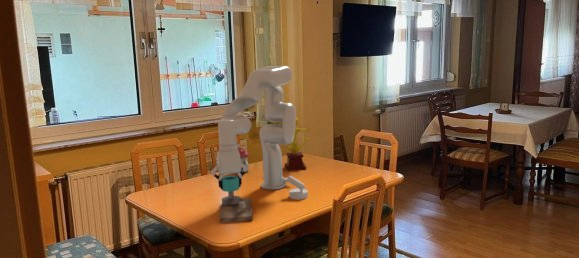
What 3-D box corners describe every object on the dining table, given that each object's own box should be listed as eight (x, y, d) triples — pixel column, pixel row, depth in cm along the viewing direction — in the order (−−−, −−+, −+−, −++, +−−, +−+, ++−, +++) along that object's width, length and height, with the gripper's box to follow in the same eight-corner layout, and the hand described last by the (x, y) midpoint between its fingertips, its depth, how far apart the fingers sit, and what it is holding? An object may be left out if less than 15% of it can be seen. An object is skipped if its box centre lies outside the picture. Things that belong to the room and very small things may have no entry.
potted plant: (276, 169, 259) (274, 117, 254) (292, 163, 271) (291, 114, 266) (295, 172, 250) (293, 119, 245) (312, 166, 262) (310, 115, 257)
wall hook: (292, 173, 214) (310, 175, 209) (293, 192, 215) (311, 195, 210) (282, 177, 207) (301, 180, 201) (283, 197, 208) (301, 200, 203)
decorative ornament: (232, 173, 253) (230, 147, 251) (236, 170, 259) (234, 145, 257) (247, 174, 251) (246, 147, 248) (251, 170, 257) (250, 145, 254)
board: (251, 202, 203) (250, 184, 202) (252, 220, 181) (251, 200, 179) (222, 204, 202) (221, 185, 201) (220, 222, 180) (218, 202, 178)
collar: (236, 185, 200) (236, 175, 199) (240, 190, 193) (239, 179, 192) (220, 187, 198) (220, 176, 197) (223, 192, 191) (223, 181, 190)
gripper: (245, 144, 199) (247, 182, 202) (206, 148, 193) (209, 187, 196) (250, 147, 192) (251, 187, 195) (209, 151, 186) (212, 192, 189)
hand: (230, 187), depth 195 cm, fingers closed on collar, 7 cm apart
